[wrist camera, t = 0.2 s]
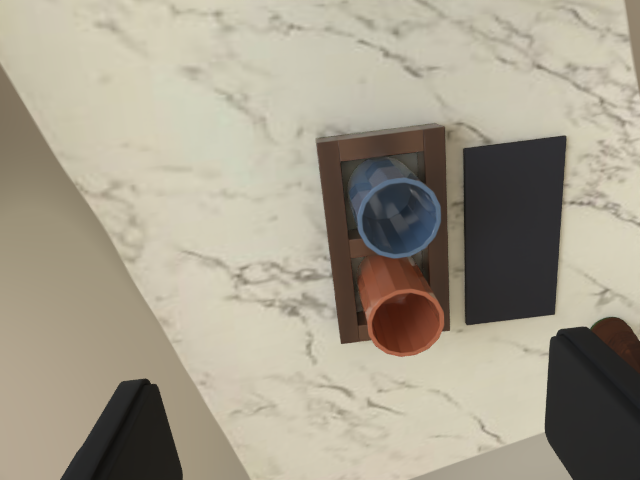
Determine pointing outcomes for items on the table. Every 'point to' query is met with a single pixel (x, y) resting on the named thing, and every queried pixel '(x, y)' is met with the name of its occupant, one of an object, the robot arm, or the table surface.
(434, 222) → the cup
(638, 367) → the chess piece
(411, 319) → the cup
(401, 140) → the holder
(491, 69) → the table surface
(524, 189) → the placemat
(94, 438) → the robot arm
